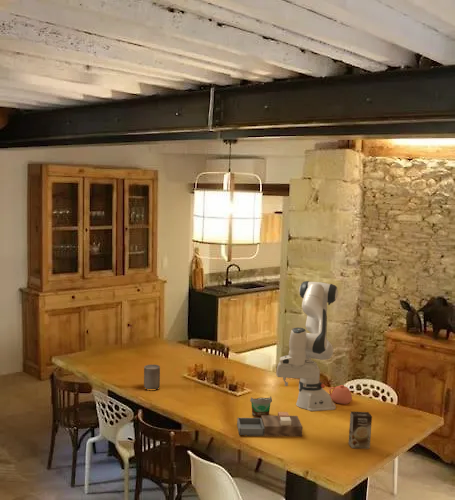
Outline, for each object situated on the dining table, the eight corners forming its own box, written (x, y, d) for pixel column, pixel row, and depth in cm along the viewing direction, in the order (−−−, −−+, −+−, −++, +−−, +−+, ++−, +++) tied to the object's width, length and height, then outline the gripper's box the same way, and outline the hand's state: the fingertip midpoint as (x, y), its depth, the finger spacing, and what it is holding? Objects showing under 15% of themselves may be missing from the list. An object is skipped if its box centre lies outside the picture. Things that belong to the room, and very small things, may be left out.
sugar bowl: (351, 406, 344) (352, 389, 343) (327, 404, 347) (328, 387, 346) (351, 399, 356) (352, 382, 355) (328, 397, 359) (328, 380, 358)
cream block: (289, 421, 303) (289, 416, 303) (291, 425, 298) (291, 420, 298) (279, 421, 303) (279, 416, 303) (281, 425, 298) (281, 420, 298)
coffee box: (351, 448, 285) (353, 416, 284) (348, 443, 291) (349, 411, 290) (370, 448, 285) (372, 416, 284) (366, 443, 292) (368, 411, 290)
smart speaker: (161, 386, 369) (161, 362, 368) (157, 391, 359) (158, 367, 358) (145, 385, 370) (146, 362, 369) (142, 390, 360) (142, 366, 359)
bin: (260, 424, 312) (261, 417, 311) (264, 436, 297) (264, 429, 296) (237, 424, 311) (237, 417, 310) (239, 435, 296) (239, 428, 296)
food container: (253, 419, 319) (253, 401, 318) (249, 415, 325) (250, 397, 324) (274, 417, 322) (275, 399, 321) (270, 413, 328) (271, 395, 327)
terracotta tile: (287, 416, 310) (287, 412, 310) (288, 420, 305) (289, 415, 305) (277, 416, 310) (278, 411, 310) (279, 420, 305) (279, 415, 305)
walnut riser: (296, 425, 313) (297, 415, 312) (302, 436, 298) (302, 426, 297) (260, 424, 312) (261, 415, 311) (264, 436, 297) (264, 426, 296)
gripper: (316, 359, 308) (314, 385, 309) (276, 357, 309) (275, 383, 309) (317, 362, 302) (316, 389, 303) (277, 360, 302) (276, 386, 303)
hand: (295, 386), depth 306 cm, fingers open, 8 cm apart
